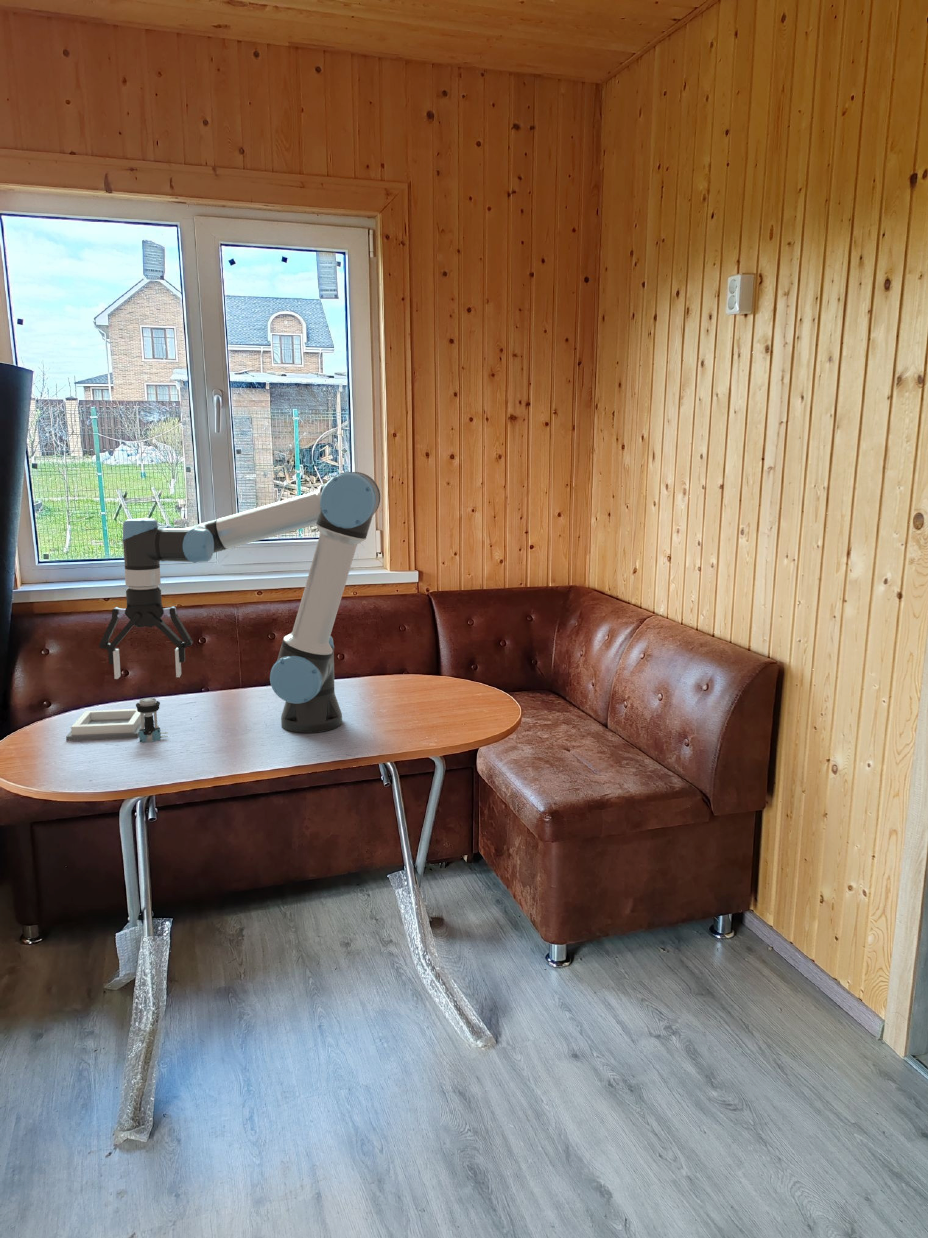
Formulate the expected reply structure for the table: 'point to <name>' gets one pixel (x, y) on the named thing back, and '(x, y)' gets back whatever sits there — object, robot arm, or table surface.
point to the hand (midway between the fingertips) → (148, 676)
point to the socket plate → (106, 725)
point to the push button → (149, 720)
